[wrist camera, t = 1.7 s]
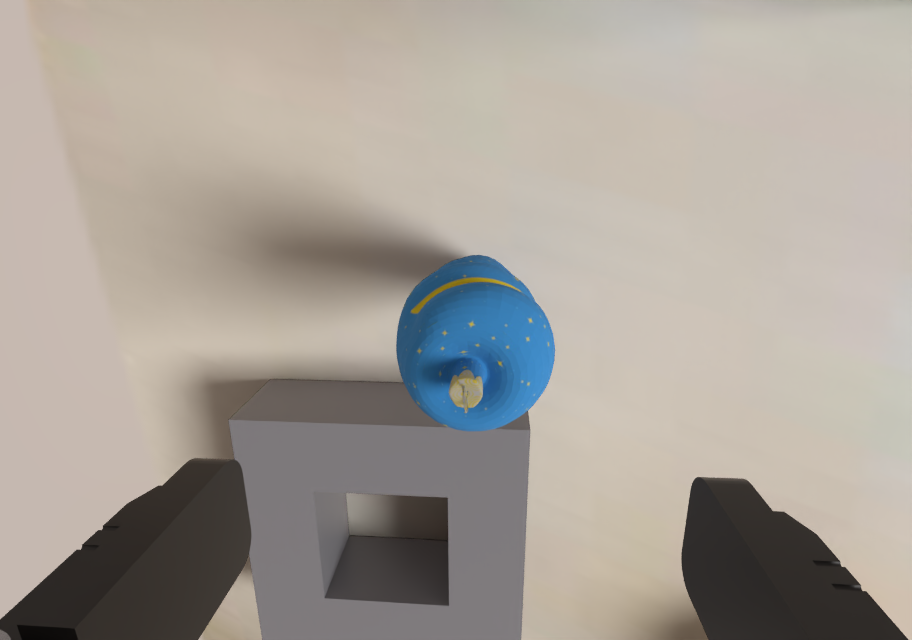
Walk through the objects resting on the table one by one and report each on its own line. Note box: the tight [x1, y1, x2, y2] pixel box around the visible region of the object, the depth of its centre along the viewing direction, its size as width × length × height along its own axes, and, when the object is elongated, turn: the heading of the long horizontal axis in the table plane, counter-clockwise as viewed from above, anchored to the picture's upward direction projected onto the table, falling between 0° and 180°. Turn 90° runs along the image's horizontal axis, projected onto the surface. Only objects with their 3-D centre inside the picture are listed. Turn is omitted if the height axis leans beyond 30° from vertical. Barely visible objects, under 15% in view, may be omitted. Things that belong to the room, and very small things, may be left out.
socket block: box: [229, 379, 530, 640], centre depth 30 cm, size 15×15×5 cm
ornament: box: [396, 255, 555, 431], centre depth 20 cm, size 5×5×15 cm
